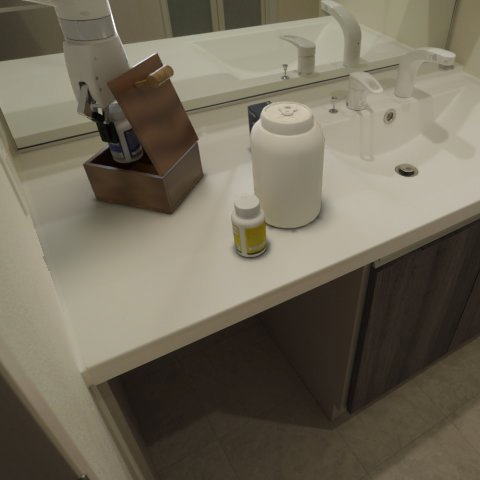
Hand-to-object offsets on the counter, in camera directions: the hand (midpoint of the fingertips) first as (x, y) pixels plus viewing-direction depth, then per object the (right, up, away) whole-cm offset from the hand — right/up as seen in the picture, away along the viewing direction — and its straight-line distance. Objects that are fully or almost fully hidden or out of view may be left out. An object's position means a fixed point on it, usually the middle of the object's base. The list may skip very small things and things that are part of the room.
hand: (121, 133), depth 76 cm
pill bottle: (0, -4, +3) cm, 5 cm away
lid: (+8, +2, -4) cm, 10 cm away
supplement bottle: (+25, -21, -4) cm, 33 cm away
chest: (+3, -9, +7) cm, 12 cm away
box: (+25, 0, +18) cm, 31 cm away
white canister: (+30, -14, +4) cm, 34 cm away
